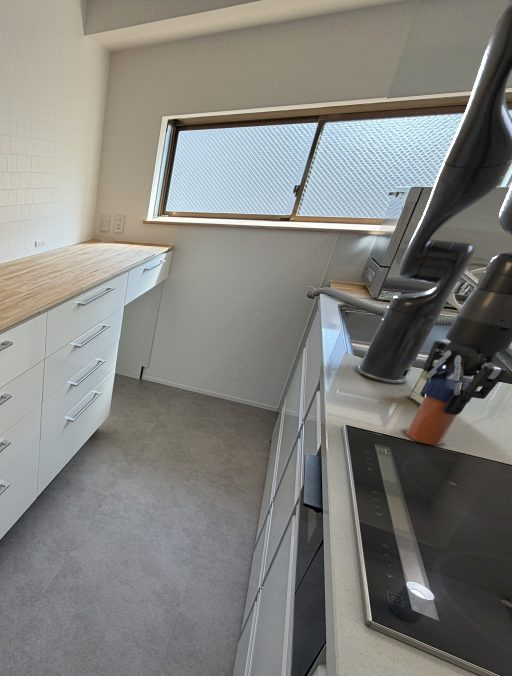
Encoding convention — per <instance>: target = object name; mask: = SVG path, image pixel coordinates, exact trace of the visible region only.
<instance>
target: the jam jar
mask: <svg viewBox="0 0 512 676" xmlns="http://www.w3.org/2000/svg"><path fill="white" fill-rule="evenodd" d="M445 404H446V402H442V401H439V400H436V399H433V398H431V397H428V396H427V395H425V397H424V399H423V401H422V402H421V404H419V406H418V409H416V410H417V411H416V412H415V414H414V417H413V418H412V420H411V422H410V424H409V426H408V428H407V430H406V435H407V436H408V437H409V438H410V439H412V440H414V441H417V442H419V443H423V444H427V445H433V446H438V445H439V446H440V445H441V444H442V443H443V441H444V439H445V438H446V436H447V435H448V432H449V430H450V429H451V427H452V425H453V423H454V421H455V419H456V418H457V416H458V415H452V414H446V413H444V412H443V411H442V409H443V407H444V405H445Z"/></svg>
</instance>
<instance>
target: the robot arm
mask: <svg viewBox="0 0 512 676" xmlns="http://www.w3.org/2000/svg"><path fill="white" fill-rule="evenodd" d="M511 74H512V3H511V4H510V5H508V7H507V8H506V9H505V10H504V11H503V13H502V14H501V15H500V17H499V19H498V21H496V24H495V26H494V29H493V30H492V33H491V35H490V38H489V40H488V42H487V46H486V48H485V51H484V54H483V57H482V61H481V64H480V67H479V69H478V73H477V75H476V79H475V82H474V84H473V88H472V91H471V94H470V97H469V100H468V103H467V106H466V108H465V112H464V114H463V116H462V119H461V121H460V124H459V126H458V128H457V130H456V133H455V135H454V137H453V140H452V142H451V144H450V147H449V149H448V151H447V153H446V155H445V157H444V160H443V162H442V164H441V167H440V169H439V172H438V174H437V176H436V177H437V178H436V180H435V183H434V185H433V188H432V190H431V194H430V197H429V199H428V201H427V204H426V207H425V209H424V212H423V215H422V217H421V218H420V221H419V223H418V225H417V227H416V229H415V231H414V234H412V235H413V236H412V237H411V239H410V242H409V243H408V245H407V247H406V250H405V252H404V254H403V256H402V258H401V260H400V264H399V266H398V271H397V272H398V276H399V277H400V278H401V279H403V280H408V281H414V282H420V283H425V284H426V283H427V284H434V287H433V288H430V289H427V290H425V291H420V292H413V293H404V294H402V293H401V294H396V295H395V296H393V297H392V298H391V299H390V302H389V304H388V306H387V308H386V310H385V312H384V314H383V316H382V318H381V320H380V323H379V325H378V326H377V329H376V331H375V333H374V336H373V338H372V339H371V342H370V344H369V346H368V347H367V348H368V349H367V350H366V352H365V354H364V356H363V358H362V360H361V362H360V364H359V366H358V367H357V372H358V373H359V374H360V375H363V376H364V377H367V378H369V379H371V380H375V381H379V382H382V383H388V384H402V383H405V381H406V379H407V376H408V375H410V374H411V371H412V369H413V365H414V364H415V362H416V360H417V358H418V356H419V354H420V352H421V350H422V349H423V347H424V345H425V343H426V341H427V339H428V338H429V336H430V334H431V332H432V330H433V328H434V327H435V325H436V323H437V320H438V319H439V317H440V315H441V313H442V311H443V310H444V307H445V305H446V303H447V301H448V300H449V298H450V296H451V294H452V292H453V291H454V289H455V287H456V286H457V284H458V283H459V281H460V279H461V278H462V276H463V275H464V273H465V271H466V270H467V268H468V266H469V265H470V263H471V262H472V259H473V257H474V255H475V252H476V251H475V250H476V249H475V245H474V244H473V243H471V242H465V241H456V240H455V241H454V240H444V239H434V238H433V237H434V235H435V234H437V232H438V231H439V230H440V229H442V228H443V227H444V226H445V225H446V224H448V222H450V221H451V220H452V219H454V218H455V217H457V216H458V215H460V214H462V213H463V212H464V211H465V210H468V209H469V208H470V207H472V206H473V205H475V204H476V203H478V202H479V201H482V199H483V198H485V197H487V196H488V195H489V194H491V193H492V192H493V191H494V190H495V189H496V188H497V187H498V186H499V185H500V184H501V183H502V181H503V180H504V178H505V176H506V174H507V172H508V170H509V167H511V164H512V117H511V114H510V112H509V109H508V105H507V101H506V100H507V99H506V92H507V91H506V89H507V85H508V81H509V78H510V76H511ZM498 212H499V213H498V223H499V225H500V227H501V229H503V231H504V232H505V233H507V234H509V235H512V180H511V182H510V184H509V187H508V190H507V192H506V195H505V196H504V200H503V202H502V205H501V207H500V209H499V211H498ZM445 338H446V340H449V341H451V342H442V341H439V340H435V341H434V342H433V343H432V346H431V349H430V351H429V353H428V355H427V358H426V360H425V363H424V365H423V368H422V371H423V370H424V371H427V372H428V374H427V377H428V380H427V382H428V381H429V379H430V378H434V377H440V378H448V377H449V376H451V375H452V374H453V373H454V375H453V381H454V382H455V388H454V394H453V393H452V394H451V396H450V397H449V399H448V401H447V402H446V404H445V405H444V407H443V409H442V411H443V412H444V413H446V414H452V415H457V416H458V415H460V414H461V413H462V412H463V410H464V409H465V407H466V406H467V405H468V403H469V402H468V401H469V399H470V398H471V399H472V398H474V399H481V400H484V399H486V398H487V396H488V395H489V394H490V393H491V392H492V390H493V389H494V388H495V387H496V386H497V385H498V383H499V382H500V381H501V380H502V379H503V378H504V376H505V375H506V374H507V369H506V368H505V367H499V366H496V365H495V364H494V359H495V356H496V354H497V353H500V352H504V351H507V350H508V349H509V348H510V346H511V344H512V251H505V252H501V253H498V254H496V255H494V257H492V258H491V259H490V261H489V263H488V264H487V265H486V267H485V269H484V271H483V272H482V273H481V276H480V278H479V280H478V282H477V283H476V285H475V287H474V288H473V290H472V291H471V293H470V294H469V295H468V297H466V299H465V301H464V302H463V304H462V306H461V308H460V310H459V311H458V313H457V315H456V316H455V318H454V320H453V322H452V324H451V325H450V328H449V329H448V331H447V333H446V334H445ZM435 360H438V361H437V362H436V363H435V364H434V366H432V365H433V362H434V361H435ZM463 376H468V377H471V376H474V378H473V379H471V378H465V377H463ZM427 382H426V384H427ZM464 383H468V384H469V385H468V386H467V387H466V389H463V388H464ZM426 384H425V385H424V387H423V389H422V391H421V393H420V395H421V396H422V397H425V394H424V392H423V390H424V388H425V386H426ZM480 387H481V388H480ZM479 388H480V389H479ZM478 389H479V390H478ZM467 402H468V403H467Z"/></svg>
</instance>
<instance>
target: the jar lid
mask: <svg viewBox="0 0 512 676" xmlns="http://www.w3.org/2000/svg"><path fill="white" fill-rule="evenodd" d="M468 385H469V384H466V383H464V388H463V389H466V387H467V386H468ZM454 388H455V382H454V381H453V379H448V378H440V377H434V378H430V379H429V381H428V382H427V384H426V386H425V388H424V390H423V392H424V394H425V395H427V396H428V397H431V398H433V399H436V400H439V401H442V402H447V401H448V399H449V397H450V396H451V394H452V393H453V394H454ZM471 399H472V398H470V399H469V401H468V402H467V404H468V403H470V402H471Z"/></svg>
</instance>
